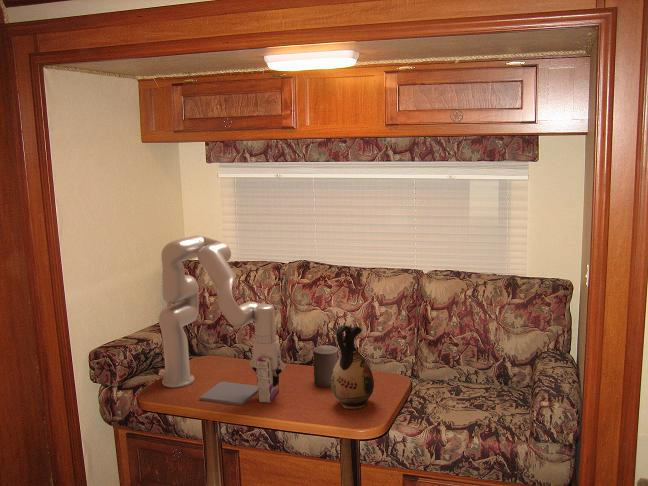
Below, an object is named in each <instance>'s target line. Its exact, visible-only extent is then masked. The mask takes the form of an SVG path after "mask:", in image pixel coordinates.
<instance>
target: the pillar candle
mask: <svg viewBox="0 0 648 486" xmlns="http://www.w3.org/2000/svg"><path fill="white" fill-rule="evenodd" d="M338 352H339V351H338V347H336V346H334V345H319V346H316V347H314V348H313V352H312V353H313V357H312V359H313V384H314V385H315V386H318V387H320V388H331V376H332V372H333V369H334V367H335V364H336V363H337V361H338V359H339V356H338V354H339V353H338Z"/></svg>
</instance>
